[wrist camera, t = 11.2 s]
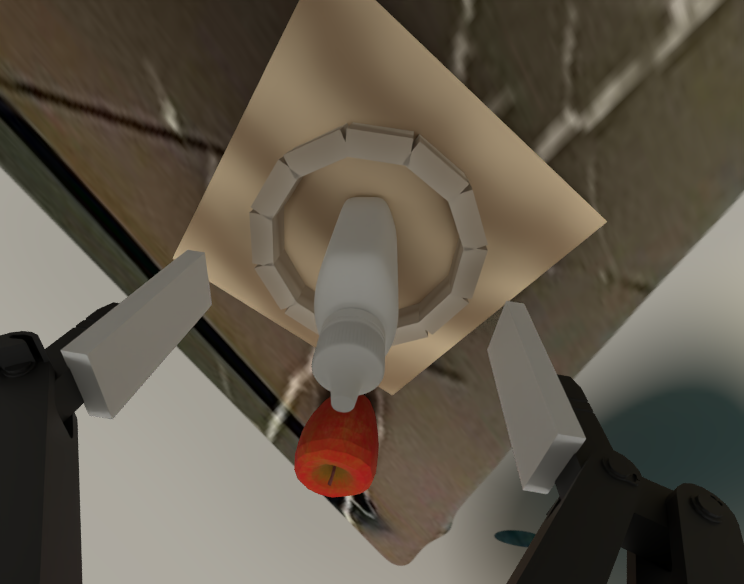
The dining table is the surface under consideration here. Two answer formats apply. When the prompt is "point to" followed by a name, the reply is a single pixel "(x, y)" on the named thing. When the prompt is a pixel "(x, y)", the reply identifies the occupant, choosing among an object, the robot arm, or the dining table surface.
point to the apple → (338, 450)
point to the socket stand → (380, 185)
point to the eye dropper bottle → (356, 301)
